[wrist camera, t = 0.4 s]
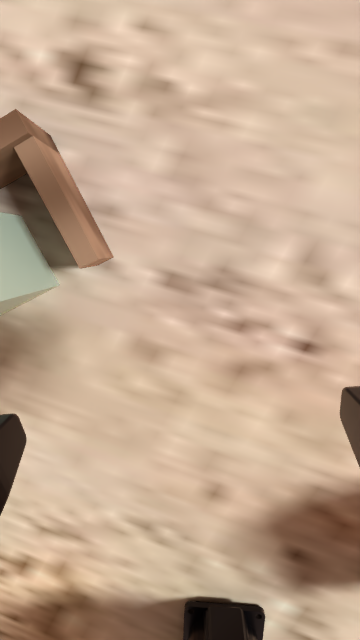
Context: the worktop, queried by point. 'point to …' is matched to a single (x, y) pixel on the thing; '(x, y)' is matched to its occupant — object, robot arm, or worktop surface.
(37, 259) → the block
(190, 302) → the worktop surface
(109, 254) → the walnut bay
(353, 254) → the worktop surface
